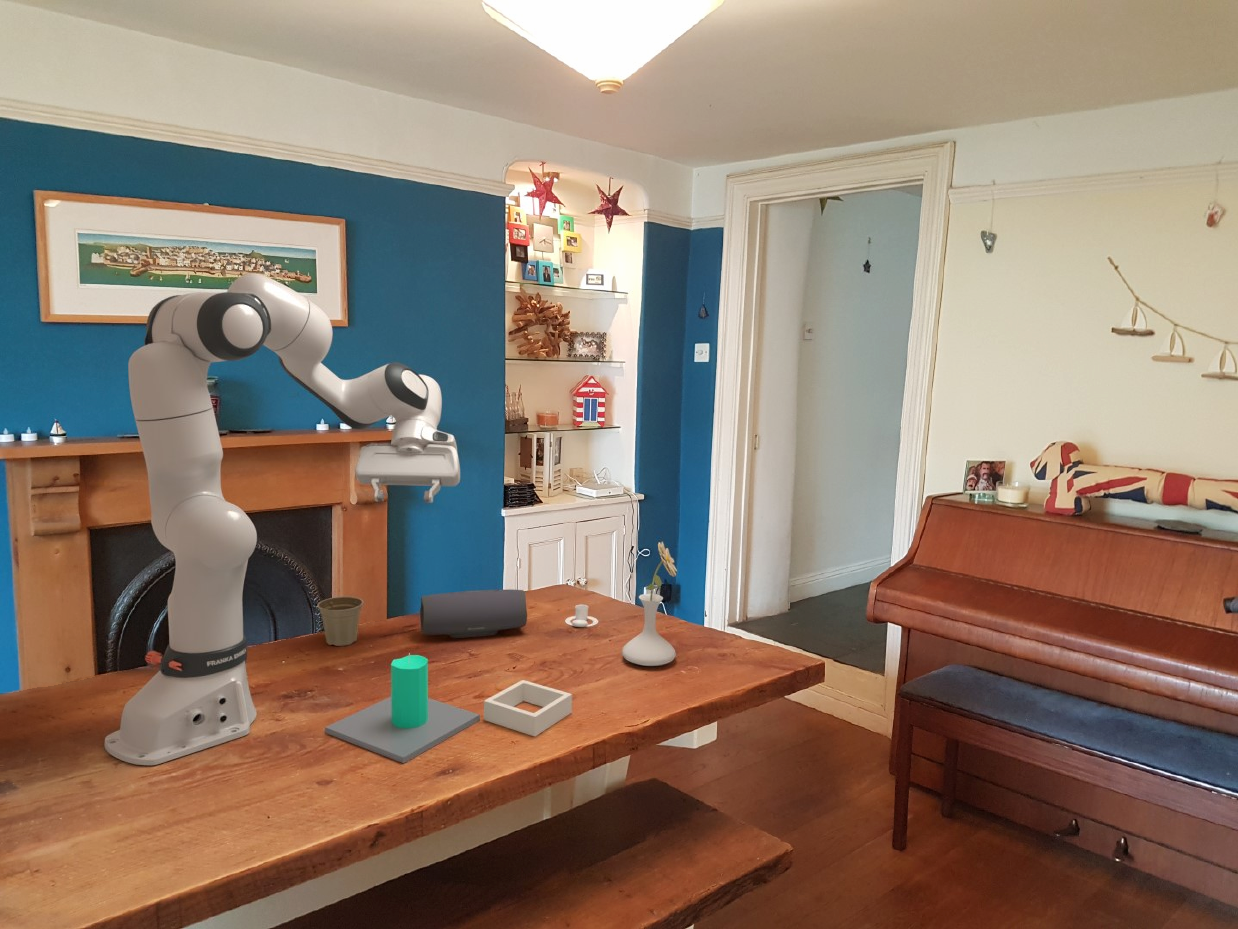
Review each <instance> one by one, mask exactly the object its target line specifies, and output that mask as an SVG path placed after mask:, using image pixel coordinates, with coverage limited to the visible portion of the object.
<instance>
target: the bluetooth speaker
mask: <svg viewBox="0 0 1238 929" xmlns="http://www.w3.org/2000/svg"><path fill="white" fill-rule="evenodd" d="M526 598H527V595H526V592H525V591H524V590H523V589H485V590H484V589H483V590H482V589H480V590H465V591H464V590H463V591H455V592H446V593H445V592H444V593H435V594H428V595H423V596H420V608H419V613H420V614H419V616H420V618H419V620H420V630H421V633H422V634H423V635H449V637H451V638H453V639H457V638H458V639H459V638H460V639H461V638H462V639H463V638H475V637H486V636H493V635H496V634H497V633H498V632H499V631H504V630H509V629H516V628H521V627H525V626H526V625H527V622H528V612H527V611H528V609H527V600H526Z"/></svg>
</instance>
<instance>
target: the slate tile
mask: <svg viewBox="0 0 1238 929" xmlns="http://www.w3.org/2000/svg"><path fill="white" fill-rule="evenodd" d="M480 720H481V715H480V714H479V713H475V712H472V711H469V710H468V709H467V710H466V709H463V708H461V707H460V708H459V707H458V706H455V705H451V704H449V703H446V702H442V701H439V700H436V699H433V698H431V697H428V720H427V722H426V723H425V724H423V725H421V726H419V727H414V728H399V727H396V726H394V725H393V723H392V717H391V696H388V697H387V698H384V699H382V700H381V701H379V702H375V703H374V704H372V705H370V706H367V707H365V708H363V709H361V710H359V711H356V712H355V713H353V714H351V715H347V716H346V717H344V718H342V719H340V720H337V721H335V722H333V723H331V724H329V725H327V726H325V727H324V734H327V735H330V736H332V737H334V738H338V739H340V740H341V741H345V742H348V743H351V744H352V745H354V746H355V745H356V746H357V747H360V748H363V749H366V750H368V751H369V752H374V753H376V754H379V755H381V756H384V757H386V758H389V759H391V760H394V761H396V762H399V763H402V764H405V763H407V762H409V761H410V760H412V759H414V758H416V757H417V756H420V755H421V754H423V753H425V752H427V751H428V750H430V749H432V748H434V747H436V746H437V745H439V744H440V743H442V742H444V741H446V740H447V739H449V738H451V737H453V736H455V735H456V734H458V733H460V732H461V731H464V730H465V729H467V728H469V727H470V726H472V725H475V723H478V722H479V721H480Z"/></svg>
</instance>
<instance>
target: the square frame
mask: <svg viewBox="0 0 1238 929" xmlns="http://www.w3.org/2000/svg"><path fill="white" fill-rule="evenodd" d="M522 702H526V703H529V704H532V705H534V706H535V705H536V706H539V707H542V708H540V709H539V710H537V711H535V712H531V711H528V710H525V709H522V708H518V707H515V706H517V705H519V704H521V703H522ZM572 706H573V693H569V692H566V691H563V690H560V689H559V690H558V689H556V688H552V687H549V686H545V685H541V684H539V683H534V682H531V681H527V680H524V679H522V680H519V681H518V682H516V683H515V684H513V685H510V686H509V687H507V688H505V689H503V690H501V691H499V692H497V693H496V694H494V695H492V696H490V697H488V698H486V699H485V700H483V721H486V722H489V723H492V724H495V725H498V726H501V727H504V728H507V729H509V730H510V729H511V730H514V731H517V732H519V733H523V734H525V735H529V736H532V737H537V736H538V735H540V734H542V732H544V731H546V730H548V729H549V728H550V727H552V726H553V725H555V724H557V723H558V722H560V721H561V720H562V719H564V718H566V717H567V716H569V715H570V714H572V709H573V707H572Z"/></svg>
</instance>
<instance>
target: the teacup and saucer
mask: <svg viewBox="0 0 1238 929" xmlns="http://www.w3.org/2000/svg"><path fill="white" fill-rule="evenodd" d="M574 609H575V613H574V614H575V615H573V616H572V615H571V616H569V617H567V618H566V619H565V620H564V622H565V624H567V625H569V626H571V627H577V628H588V627H593V626H596V625H598V623H599V619H597V618H596V617H594V616H589V614H588V613H589V605H586V604H577V605H575V606H574ZM588 619H589V620H591V621H592V623H588V621H587V620H588Z"/></svg>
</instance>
